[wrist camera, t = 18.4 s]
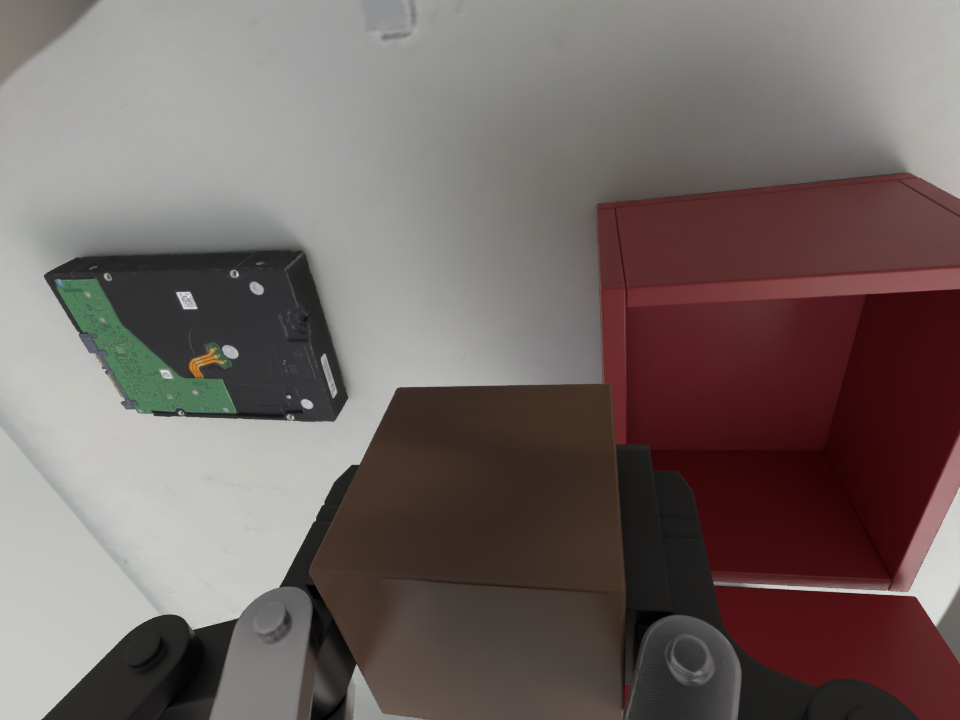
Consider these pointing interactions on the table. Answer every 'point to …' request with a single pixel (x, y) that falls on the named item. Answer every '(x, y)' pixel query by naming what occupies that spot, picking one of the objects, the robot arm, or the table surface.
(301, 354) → the disk drive
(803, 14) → the table surface
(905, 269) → the red box
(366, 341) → the table surface
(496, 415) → the block
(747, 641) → the box lid
